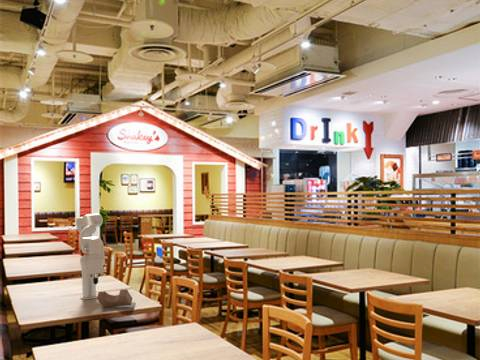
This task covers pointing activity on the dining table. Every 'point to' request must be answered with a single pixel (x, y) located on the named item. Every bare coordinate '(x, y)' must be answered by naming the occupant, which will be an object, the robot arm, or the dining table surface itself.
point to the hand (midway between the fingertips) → (95, 283)
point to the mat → (119, 307)
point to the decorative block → (114, 299)
